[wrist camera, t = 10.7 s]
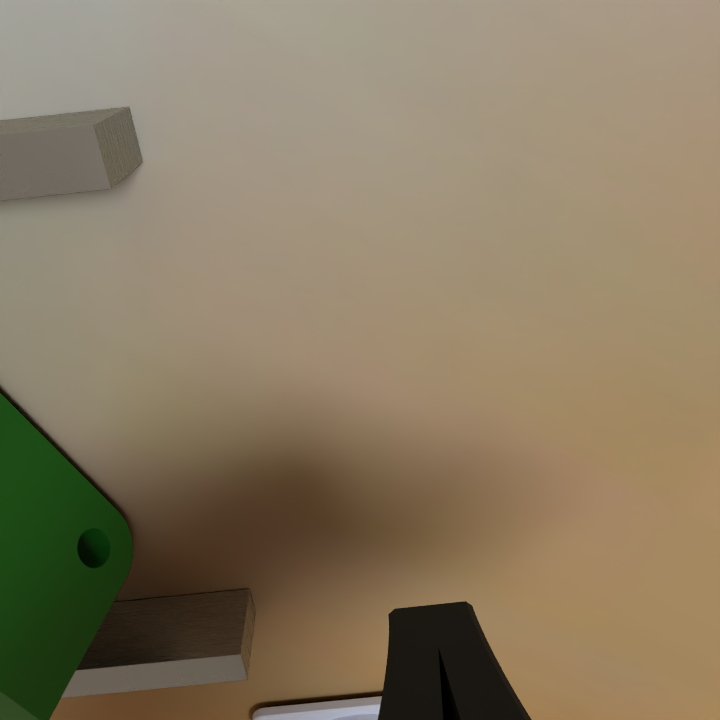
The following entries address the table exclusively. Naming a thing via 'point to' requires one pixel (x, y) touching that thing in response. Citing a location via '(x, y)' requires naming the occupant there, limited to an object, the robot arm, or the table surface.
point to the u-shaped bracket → (148, 616)
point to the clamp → (50, 568)
